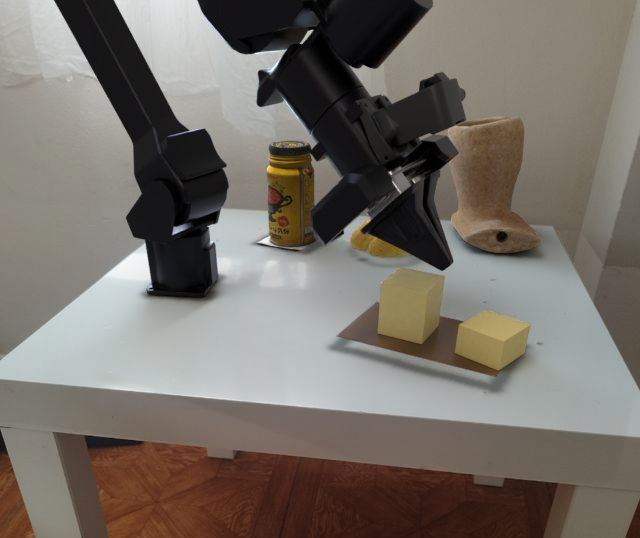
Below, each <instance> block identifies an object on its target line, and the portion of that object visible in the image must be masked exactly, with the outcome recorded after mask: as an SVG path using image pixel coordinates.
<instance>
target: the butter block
mask: <svg viewBox="0 0 640 538" xmlns="http://www.w3.org/2000/svg"><path fill="white" fill-rule="evenodd" d="M445 278H446V276H445V275H442V274H437V273H432V272H426V271H422V270H417V269H410V268H408V267H402V266H400V267H398V268H397V269H396V270H395V271H394V272H392V273H391V274H390V275H388V276H387V277H385V279H384V280H383V281H381V282H380V293H379V302H380V306H379V320H378V334H382V335H386V336H390V337H394V338H398V339H402V340H406V341H410V342H414V343H418V344H422V343H423V342H424V341H425V340H426V339H427V338H428V337H429V336H430V335H431V334H432V332H433V331H434V330H435V329H436V328H437V327H438V325H439V318H440V316H441V311H442V304H443V303H442V302H443V294H444V288H445V281H446V280H445Z"/></svg>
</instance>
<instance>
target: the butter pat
mask: <svg viewBox="0 0 640 538" xmlns="http://www.w3.org/2000/svg"><path fill="white" fill-rule="evenodd" d="M531 327H532V326H531V324H530V323H528V322H527V323H526V322H524V321H521V320H519V319H515V318H513V317H510V316H506V315H504V314H500V313H497V312H494V311H492V310H489V309H485V310H483V311H480V312H479V313H477V314H475V315H474V316H472V317H470V318H468V319H466V320H465V321H464V322H463V323H461V324H459V328H458V334H457V341H456V347H455V354H458V355H460V356H463V357H465V358H468V359H470V360H473V361H475V362H478V363H480V364H483V365H485V366H488V367H490V368H493V369H495V370H498V371H499V370H500V369H501V370H503V368H505V367H506V366H508V365H510V364H511V363H512V362H514V361H515V360H517V359H518V358H520V357H521V356H523V355H524V354H525V352H526V348H527V344H528V339H529V334H530V330H531Z"/></svg>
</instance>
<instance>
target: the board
mask: <svg viewBox="0 0 640 538" xmlns="http://www.w3.org/2000/svg"><path fill="white" fill-rule="evenodd" d="M379 306H380V301H375V302H374V303H373V304H372V305H370V306H369V307H368V308H367V309H366V310H365V311H363V313H361V314H360V315H358V316H357V318H355V319H354V320H353V321H352V322H351V323H349V324H348V325H347V326H345V328H344V329H342V330H341V331H340V332H339V333H338V334H336V337H337V338H342V339H345V340H350V341H354V342H357V343H360V344H361V343H362V344H364V345H369V346H372V347H377V348H381V349H384V350H389V351H392V352H396V353H400V354H404V355H407V356H412V357H415V358H420V359H422V360H423V359H424V360H427V361H432V362H435V363H439V364H443V365H447V366H450V367H455V368H458V369H463V370H466V371H470V372H474V373H478V374H483V375H485V376H490V377H493V378H497V377H498V376H499V374H500V372H501V371H502V369H500V370H499V371H498V370H495V369H493V368H490V367H488V366H485V365H483V364H480V363H478V362H475V361H473V360H470V359H468V358H465V357H463V356H460V355H458V354H455V347H456V341H457V334H458V328H459V324H461V323H463V322H465V321H464V320H460V319H459V320H458V319H455V318H450V317H446V316H442V315H440V318H439V325H438V327H437V328H436V329H435V330H434V331H433V332H432V334H431V335H430V336H429V337H428V338H427V339H426V340H425V341H424V342H423V343H422V344H418V343H414V342H410V341H406V340H402V339H398V338H394V337H390V336H386V335H382V334H378V320H379Z"/></svg>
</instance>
